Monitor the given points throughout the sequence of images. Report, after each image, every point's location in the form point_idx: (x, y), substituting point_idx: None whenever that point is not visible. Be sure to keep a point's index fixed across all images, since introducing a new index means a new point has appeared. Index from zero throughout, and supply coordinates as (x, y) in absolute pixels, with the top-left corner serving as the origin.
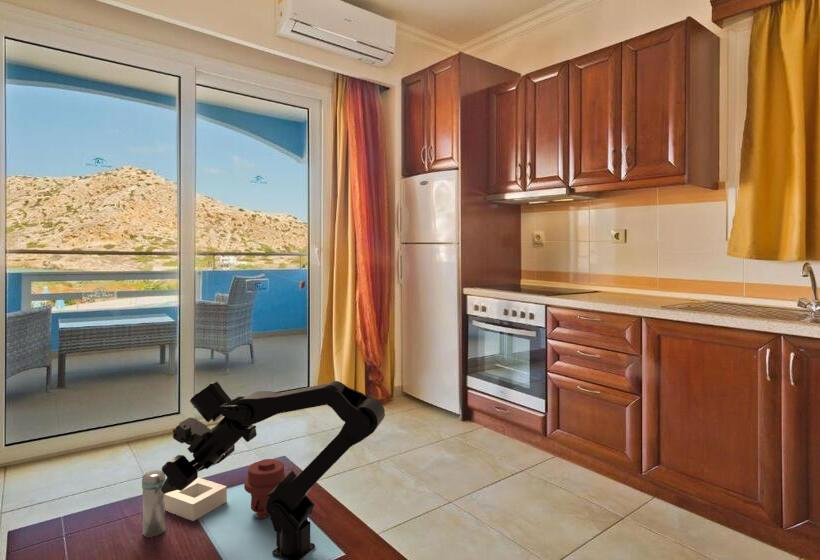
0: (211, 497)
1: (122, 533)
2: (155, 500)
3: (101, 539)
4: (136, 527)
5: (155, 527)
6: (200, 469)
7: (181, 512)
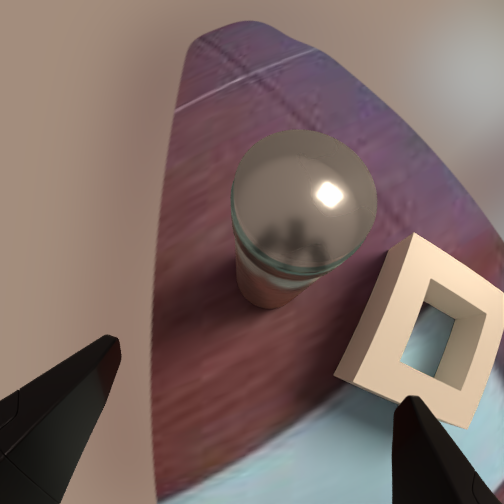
0: None
1: None
2: (243, 266)
3: (229, 150)
4: None
5: (241, 288)
6: (395, 486)
7: (363, 322)
